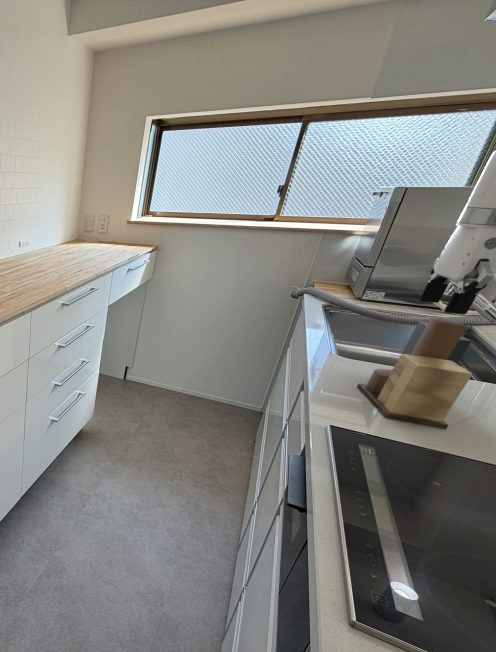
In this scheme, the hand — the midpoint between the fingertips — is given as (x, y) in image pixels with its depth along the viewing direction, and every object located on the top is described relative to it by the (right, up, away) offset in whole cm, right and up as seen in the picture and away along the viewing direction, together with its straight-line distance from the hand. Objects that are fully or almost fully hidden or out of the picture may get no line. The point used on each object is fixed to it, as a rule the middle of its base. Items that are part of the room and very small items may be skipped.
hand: (440, 307), depth 86 cm
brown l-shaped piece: (-1, -18, +9) cm, 21 cm away
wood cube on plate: (-3, -21, +6) cm, 22 cm away
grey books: (+11, -17, +16) cm, 25 cm away
